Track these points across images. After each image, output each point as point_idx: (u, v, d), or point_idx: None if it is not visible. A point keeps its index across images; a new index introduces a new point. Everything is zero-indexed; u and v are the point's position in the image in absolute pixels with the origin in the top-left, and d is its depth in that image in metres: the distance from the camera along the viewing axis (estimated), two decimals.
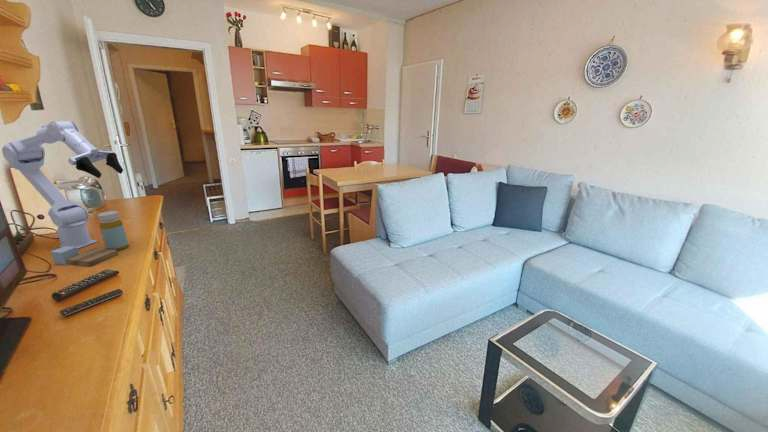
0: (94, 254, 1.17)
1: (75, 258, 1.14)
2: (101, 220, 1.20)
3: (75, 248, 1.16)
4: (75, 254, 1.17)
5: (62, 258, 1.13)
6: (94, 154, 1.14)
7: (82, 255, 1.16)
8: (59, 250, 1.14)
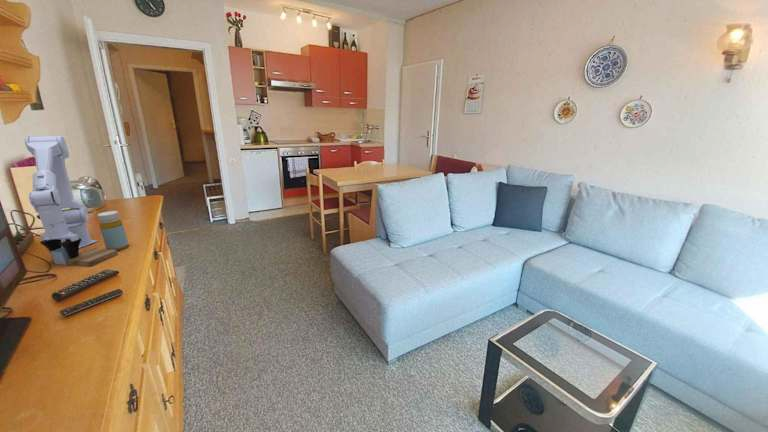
0: (94, 254, 1.17)
1: (75, 258, 1.14)
2: (101, 220, 1.20)
3: None
4: None
5: (62, 258, 1.13)
6: None
7: (82, 255, 1.16)
8: (59, 250, 1.14)
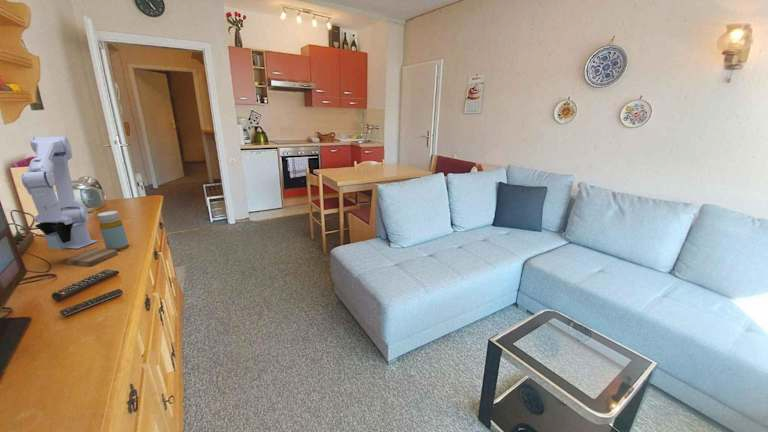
0: (94, 254, 1.17)
1: (75, 258, 1.14)
2: (101, 220, 1.20)
3: None
4: None
5: (56, 242, 1.11)
6: None
7: (82, 255, 1.16)
8: (53, 234, 1.12)
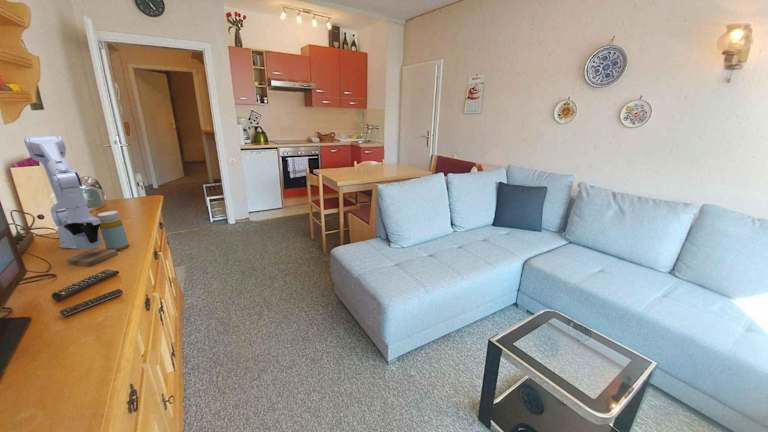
0: (94, 254, 1.17)
1: (75, 258, 1.14)
2: (101, 220, 1.20)
3: None
4: None
5: (84, 242, 1.12)
6: None
7: (82, 255, 1.16)
8: (81, 234, 1.13)
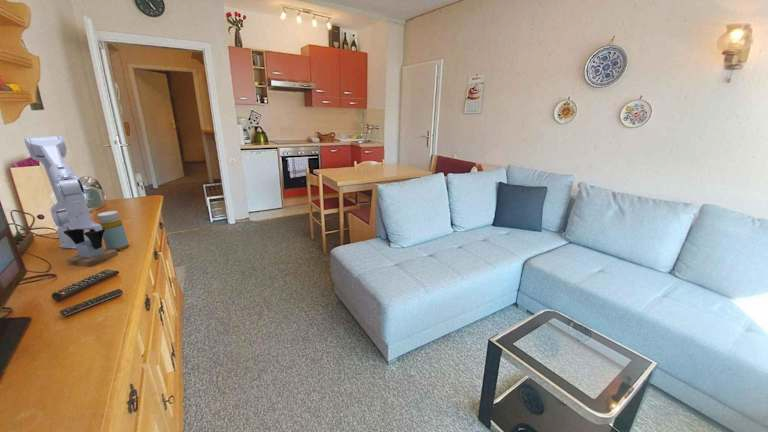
0: None
1: (75, 258, 1.14)
2: (101, 220, 1.20)
3: None
4: None
5: (87, 251, 1.14)
6: None
7: None
8: (84, 243, 1.15)
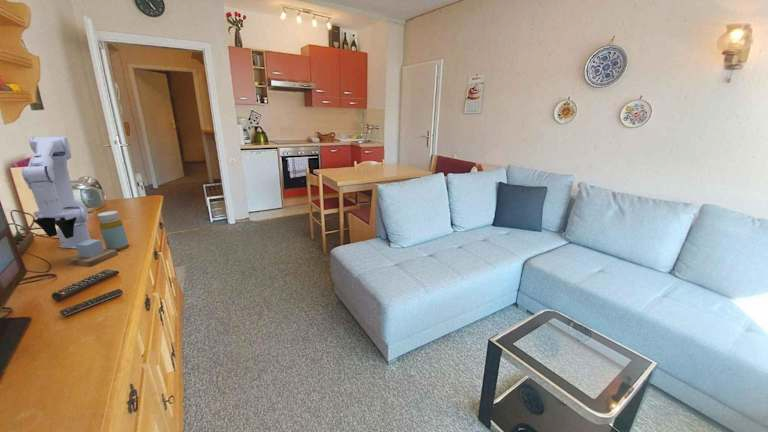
0: None
1: (75, 258, 1.14)
2: (101, 220, 1.20)
3: (99, 241, 1.17)
4: (99, 247, 1.17)
5: (87, 251, 1.14)
6: None
7: None
8: (84, 243, 1.15)
